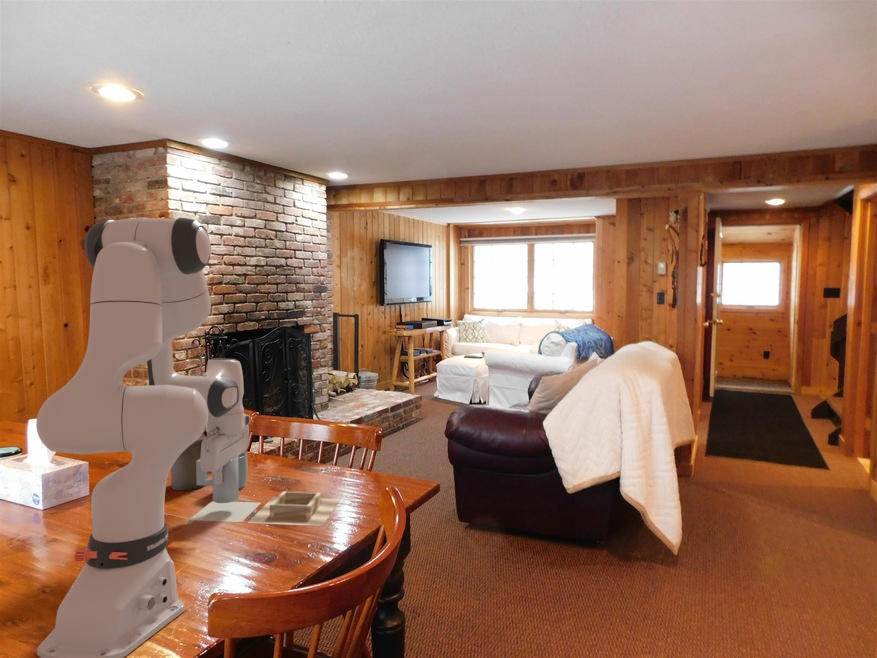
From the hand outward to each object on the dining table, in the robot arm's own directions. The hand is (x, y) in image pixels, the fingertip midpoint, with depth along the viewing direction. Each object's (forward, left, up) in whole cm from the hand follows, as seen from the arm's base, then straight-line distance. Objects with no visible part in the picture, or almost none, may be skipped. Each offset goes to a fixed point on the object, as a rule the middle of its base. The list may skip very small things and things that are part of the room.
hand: (225, 478), depth 147 cm
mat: (0, 0, -9) cm, 9 cm away
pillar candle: (+21, +20, -9) cm, 30 cm away
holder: (+2, -17, -9) cm, 19 cm away
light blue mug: (0, +2, -5) cm, 5 cm away
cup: (+18, +6, -9) cm, 21 cm away
